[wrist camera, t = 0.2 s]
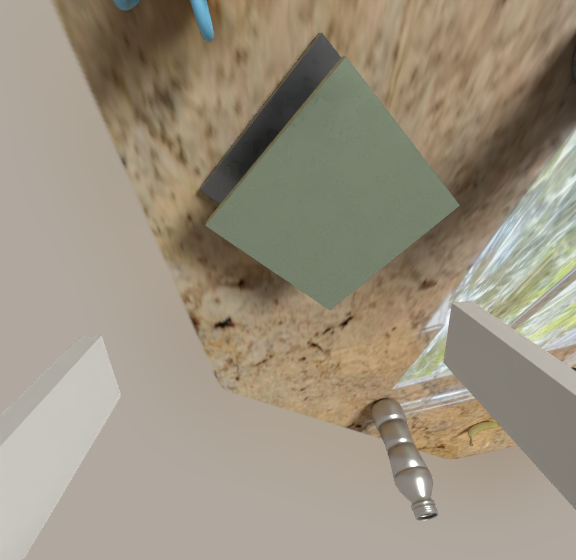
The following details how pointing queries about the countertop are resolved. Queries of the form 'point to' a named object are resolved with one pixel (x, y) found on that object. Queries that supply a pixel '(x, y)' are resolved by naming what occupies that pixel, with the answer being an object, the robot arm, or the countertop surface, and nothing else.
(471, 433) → the banana
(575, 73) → the thermos
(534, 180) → the countertop surface
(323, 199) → the grey green pedestal stand
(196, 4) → the cylinder
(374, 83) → the countertop surface
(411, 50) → the countertop surface
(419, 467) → the plastic bottle
